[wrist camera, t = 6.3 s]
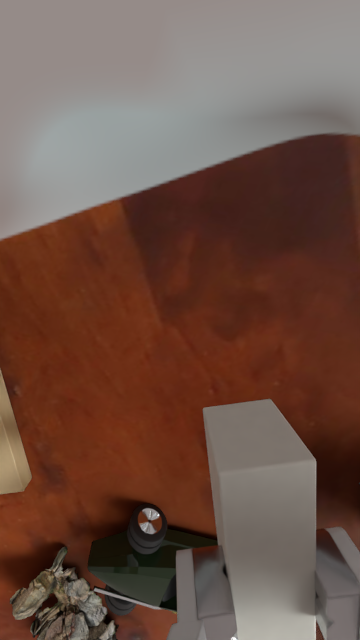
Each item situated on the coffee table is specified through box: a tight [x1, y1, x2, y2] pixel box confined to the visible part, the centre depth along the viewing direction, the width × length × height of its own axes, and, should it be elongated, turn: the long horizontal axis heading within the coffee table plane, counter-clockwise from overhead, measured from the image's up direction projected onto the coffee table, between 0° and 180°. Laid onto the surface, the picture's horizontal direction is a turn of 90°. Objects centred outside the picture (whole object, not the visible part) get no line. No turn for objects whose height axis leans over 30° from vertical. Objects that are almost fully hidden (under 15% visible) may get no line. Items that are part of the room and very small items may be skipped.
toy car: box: [87, 504, 218, 615], centre depth 24 cm, size 9×20×5 cm, turn 71°
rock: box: [10, 547, 119, 640], centre depth 25 cm, size 8×15×4 cm, turn 6°
